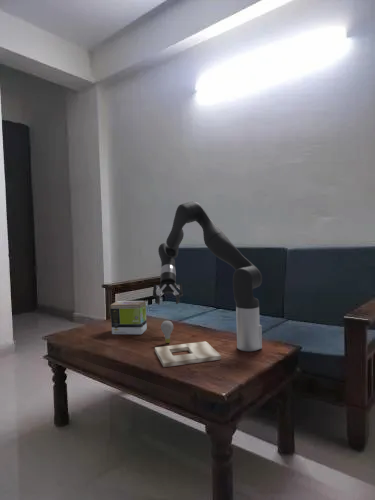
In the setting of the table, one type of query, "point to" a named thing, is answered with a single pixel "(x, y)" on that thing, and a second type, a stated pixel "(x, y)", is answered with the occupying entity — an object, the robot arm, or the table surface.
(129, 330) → the tea box
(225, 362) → the table surface
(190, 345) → the cream board with hole
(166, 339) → the light bulb
